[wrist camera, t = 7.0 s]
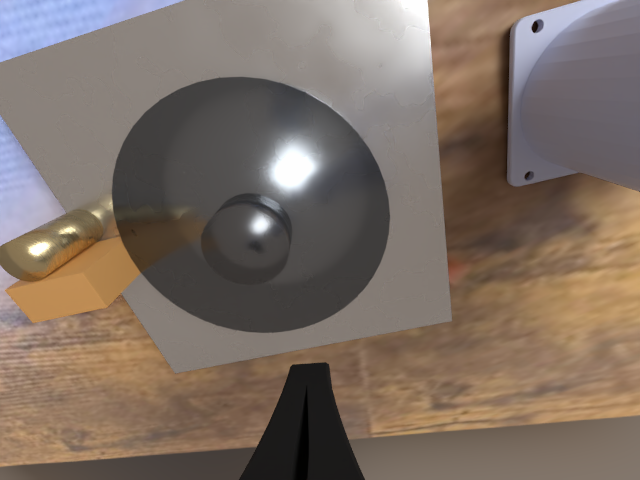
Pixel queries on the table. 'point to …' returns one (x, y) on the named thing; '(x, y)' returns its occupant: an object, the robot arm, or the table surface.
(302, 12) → the base plate
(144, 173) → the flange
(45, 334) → the table surface
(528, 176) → the robot arm
